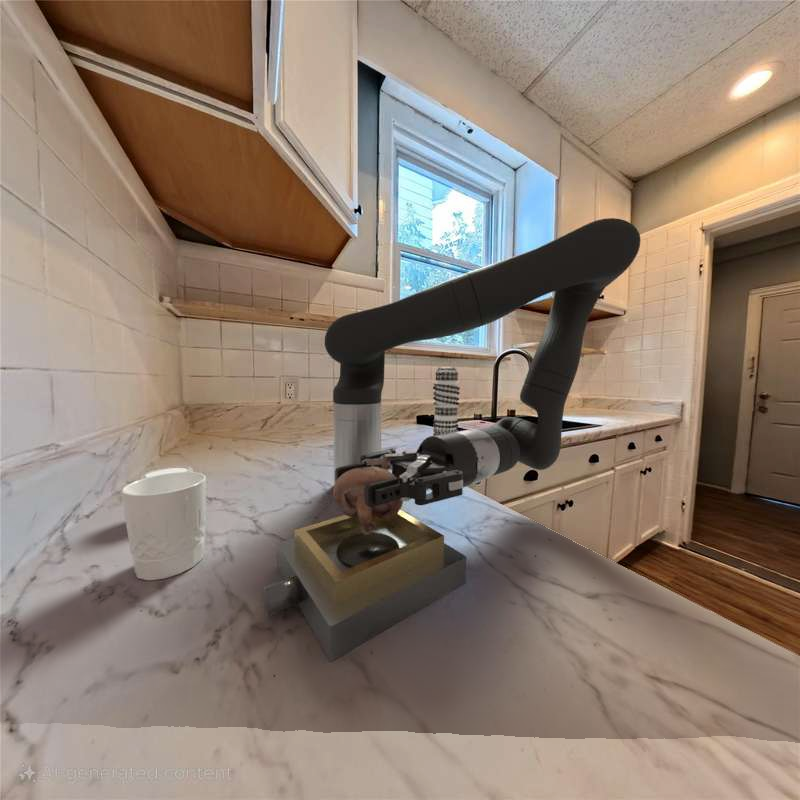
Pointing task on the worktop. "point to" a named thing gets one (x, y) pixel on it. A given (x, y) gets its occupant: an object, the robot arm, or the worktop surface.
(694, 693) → the worktop surface
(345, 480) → the mushroom
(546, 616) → the worktop surface
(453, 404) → the decorative candle
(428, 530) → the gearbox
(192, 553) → the white cup
